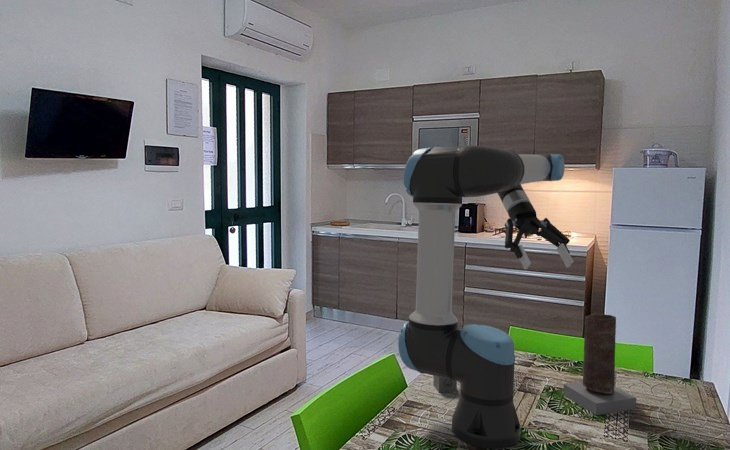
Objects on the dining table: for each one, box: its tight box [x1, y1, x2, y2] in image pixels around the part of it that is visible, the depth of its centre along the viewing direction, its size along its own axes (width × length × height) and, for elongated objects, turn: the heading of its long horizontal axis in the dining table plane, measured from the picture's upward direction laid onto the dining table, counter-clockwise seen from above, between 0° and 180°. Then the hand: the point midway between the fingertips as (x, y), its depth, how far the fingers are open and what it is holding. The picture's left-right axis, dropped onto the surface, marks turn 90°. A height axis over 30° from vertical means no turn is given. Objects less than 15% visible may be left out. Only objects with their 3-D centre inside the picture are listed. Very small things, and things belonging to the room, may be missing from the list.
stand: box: [562, 381, 637, 416], centre depth 125 cm, size 12×12×3 cm
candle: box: [582, 312, 617, 394], centre depth 124 cm, size 8×7×20 cm
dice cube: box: [432, 375, 458, 393], centre depth 133 cm, size 5×5×5 cm
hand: (549, 265), depth 134 cm, fingers open, 13 cm apart
